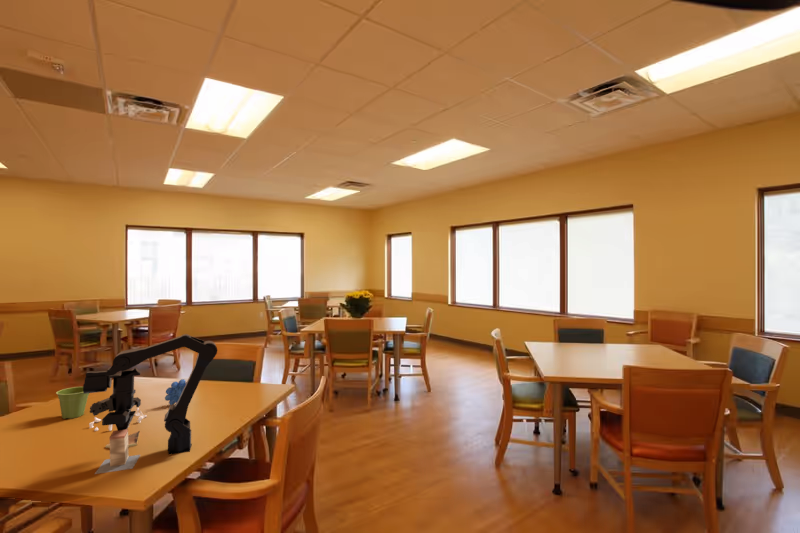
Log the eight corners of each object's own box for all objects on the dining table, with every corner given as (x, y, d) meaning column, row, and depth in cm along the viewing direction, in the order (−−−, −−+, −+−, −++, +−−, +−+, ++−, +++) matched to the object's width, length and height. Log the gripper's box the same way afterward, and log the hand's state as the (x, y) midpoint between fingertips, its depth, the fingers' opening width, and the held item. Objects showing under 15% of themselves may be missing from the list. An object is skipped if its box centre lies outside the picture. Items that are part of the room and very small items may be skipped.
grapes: (193, 400, 189) (193, 376, 189) (192, 404, 183) (192, 379, 183) (165, 403, 184) (166, 378, 184) (163, 407, 178) (164, 382, 178)
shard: (139, 435, 148) (139, 429, 148) (157, 438, 146) (157, 433, 146) (104, 449, 136) (104, 443, 136) (122, 453, 133) (123, 447, 133)
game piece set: (157, 417, 167) (157, 408, 167) (111, 435, 148) (112, 425, 148) (123, 412, 172) (123, 404, 172) (75, 429, 153) (75, 420, 153)
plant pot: (70, 422, 159) (71, 395, 159) (47, 419, 161) (48, 393, 162) (97, 412, 171) (98, 387, 171) (76, 410, 173) (77, 385, 173)
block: (128, 456, 128) (128, 429, 126) (125, 464, 124) (124, 435, 123) (114, 458, 126) (113, 430, 125) (110, 466, 123) (109, 437, 121)
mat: (140, 455, 131) (140, 454, 131) (132, 469, 122) (132, 468, 122) (105, 460, 127) (105, 459, 127) (94, 475, 118) (94, 474, 118)
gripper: (104, 384, 133) (102, 428, 133) (82, 400, 116) (80, 452, 116) (141, 381, 137) (140, 424, 137) (126, 396, 120) (124, 446, 120)
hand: (121, 436), depth 127 cm, fingers closed
